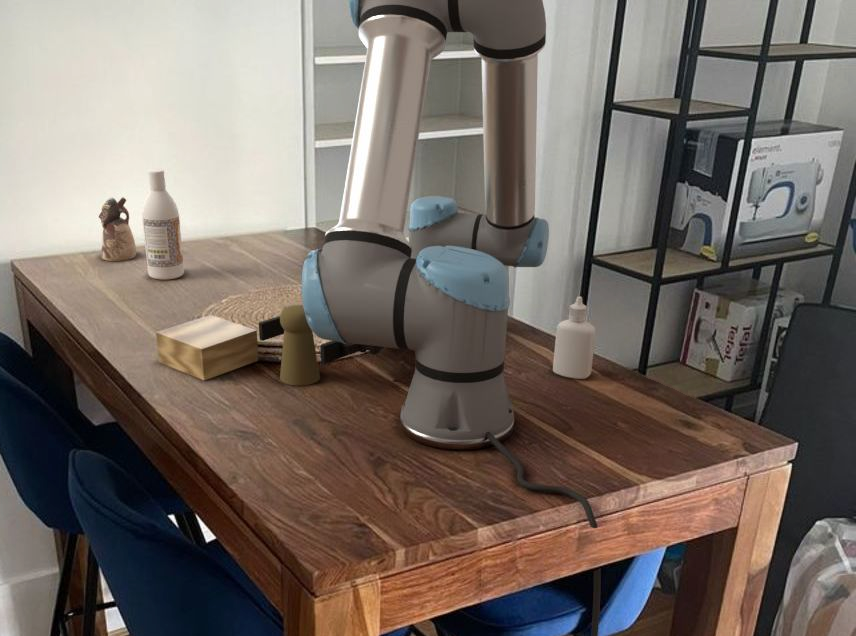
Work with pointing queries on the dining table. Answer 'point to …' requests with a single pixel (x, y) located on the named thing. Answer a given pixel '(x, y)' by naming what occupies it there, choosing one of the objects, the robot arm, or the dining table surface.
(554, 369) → the eye dropper bottle
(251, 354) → the riser block
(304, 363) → the olive green peg figure
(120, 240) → the figurine
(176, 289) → the dining table surface
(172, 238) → the bath foam
